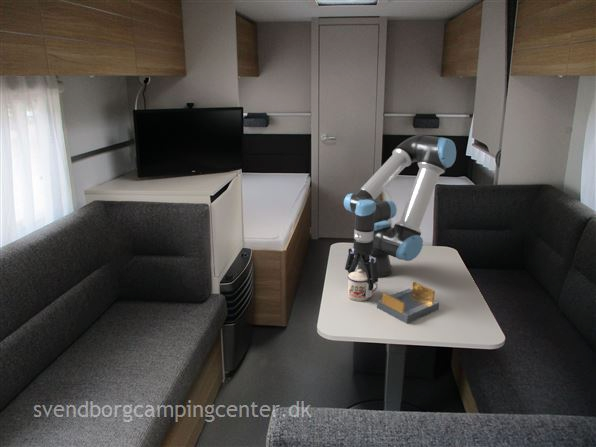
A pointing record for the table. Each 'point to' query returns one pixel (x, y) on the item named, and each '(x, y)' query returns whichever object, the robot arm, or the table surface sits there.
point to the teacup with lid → (358, 285)
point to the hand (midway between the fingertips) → (359, 292)
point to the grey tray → (409, 303)
